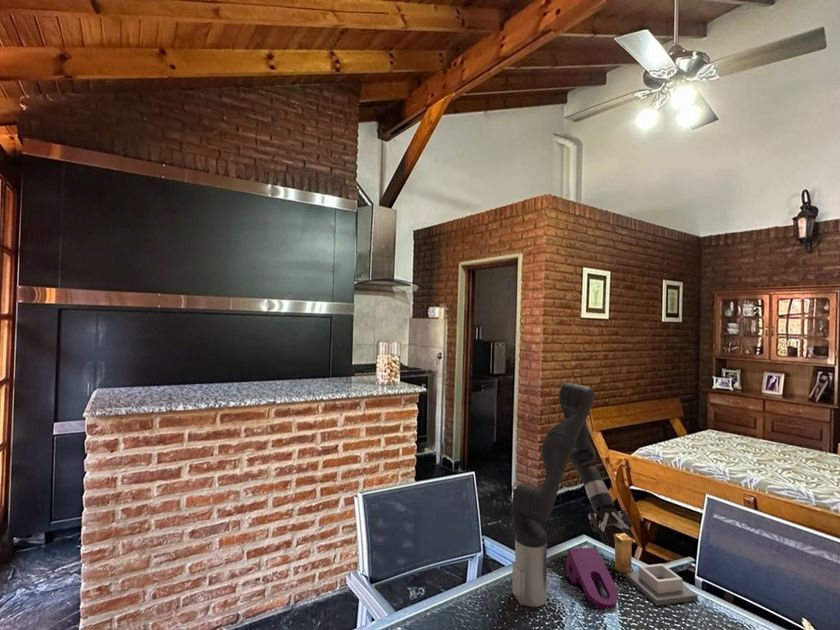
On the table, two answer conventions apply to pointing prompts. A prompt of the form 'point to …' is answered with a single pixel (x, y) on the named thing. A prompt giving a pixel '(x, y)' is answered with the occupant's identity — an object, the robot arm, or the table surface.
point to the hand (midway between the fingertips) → (619, 543)
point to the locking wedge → (623, 552)
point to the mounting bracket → (591, 575)
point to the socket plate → (661, 585)
